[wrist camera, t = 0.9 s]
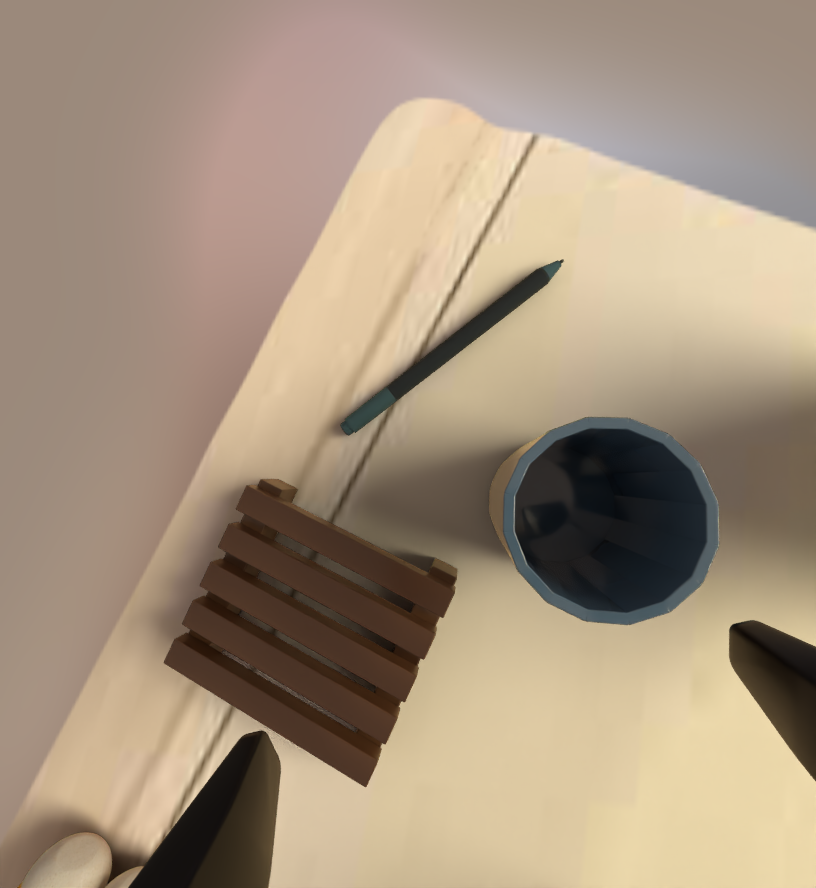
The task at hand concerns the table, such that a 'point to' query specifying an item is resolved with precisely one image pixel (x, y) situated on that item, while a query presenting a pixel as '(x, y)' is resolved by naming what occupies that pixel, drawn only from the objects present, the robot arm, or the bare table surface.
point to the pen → (450, 347)
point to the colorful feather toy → (77, 865)
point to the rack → (310, 630)
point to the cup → (607, 519)
